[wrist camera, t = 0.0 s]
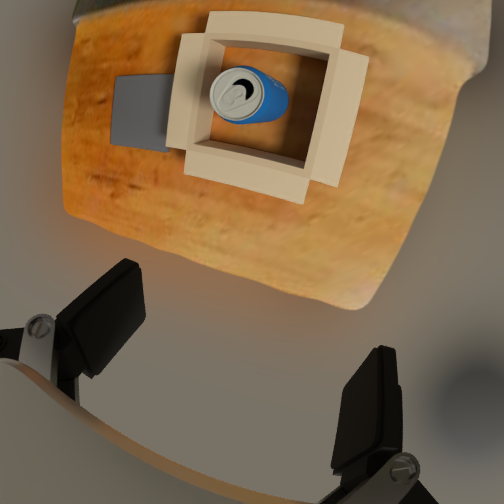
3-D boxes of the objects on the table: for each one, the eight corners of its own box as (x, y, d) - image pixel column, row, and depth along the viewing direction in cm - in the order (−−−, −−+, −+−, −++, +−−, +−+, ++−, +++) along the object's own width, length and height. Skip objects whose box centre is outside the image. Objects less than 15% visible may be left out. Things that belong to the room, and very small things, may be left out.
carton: (203, 21, 29) (187, 12, 25) (369, 43, 25) (373, 33, 21) (181, 162, 42) (163, 169, 37) (330, 201, 38) (329, 213, 33)
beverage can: (299, 104, 32) (282, 98, 22) (262, 130, 36) (231, 137, 26) (270, 69, 31) (240, 51, 21) (235, 96, 34) (194, 92, 24)
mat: (119, 76, 37) (116, 76, 36) (178, 74, 34) (175, 74, 34) (114, 143, 43) (110, 144, 42) (169, 151, 41) (165, 152, 40)
